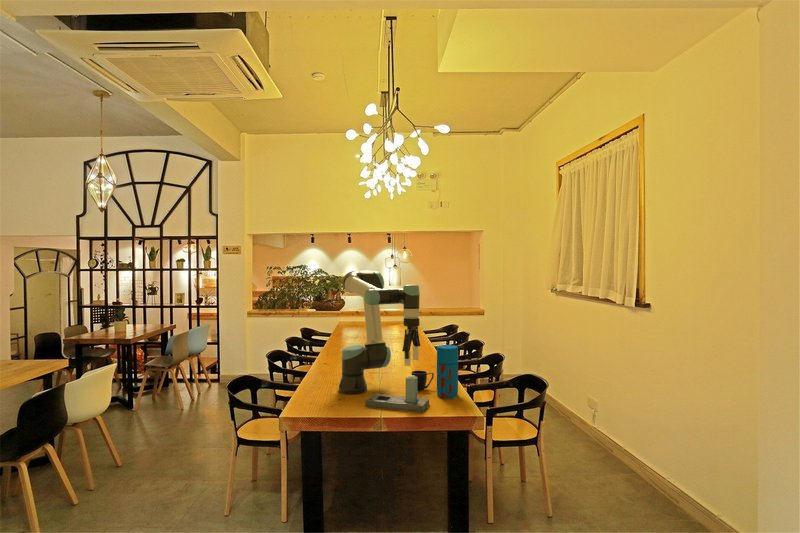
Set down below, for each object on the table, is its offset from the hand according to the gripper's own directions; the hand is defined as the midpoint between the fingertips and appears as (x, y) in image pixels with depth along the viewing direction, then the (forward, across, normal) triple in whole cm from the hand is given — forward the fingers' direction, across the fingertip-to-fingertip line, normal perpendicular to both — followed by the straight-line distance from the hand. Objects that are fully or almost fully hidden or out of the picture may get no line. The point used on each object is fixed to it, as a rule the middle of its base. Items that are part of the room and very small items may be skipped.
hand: (411, 362), depth 212 cm
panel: (+21, 0, +7) cm, 22 cm away
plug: (+21, 0, 0) cm, 21 cm away
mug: (+21, +31, +3) cm, 38 cm away
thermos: (+21, +24, -12) cm, 34 cm away
